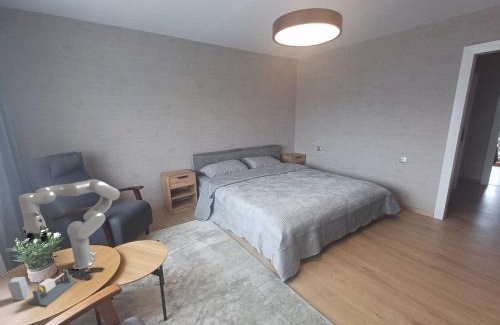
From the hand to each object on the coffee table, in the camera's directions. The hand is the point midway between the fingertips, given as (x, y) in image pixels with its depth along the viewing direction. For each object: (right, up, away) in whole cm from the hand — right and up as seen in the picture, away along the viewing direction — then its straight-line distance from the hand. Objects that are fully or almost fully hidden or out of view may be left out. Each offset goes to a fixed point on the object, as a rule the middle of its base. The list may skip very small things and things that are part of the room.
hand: (38, 240), depth 133 cm
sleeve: (+12, -25, -6) cm, 29 cm away
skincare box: (-4, -31, -6) cm, 31 cm away
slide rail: (+12, -29, -3) cm, 32 cm away
